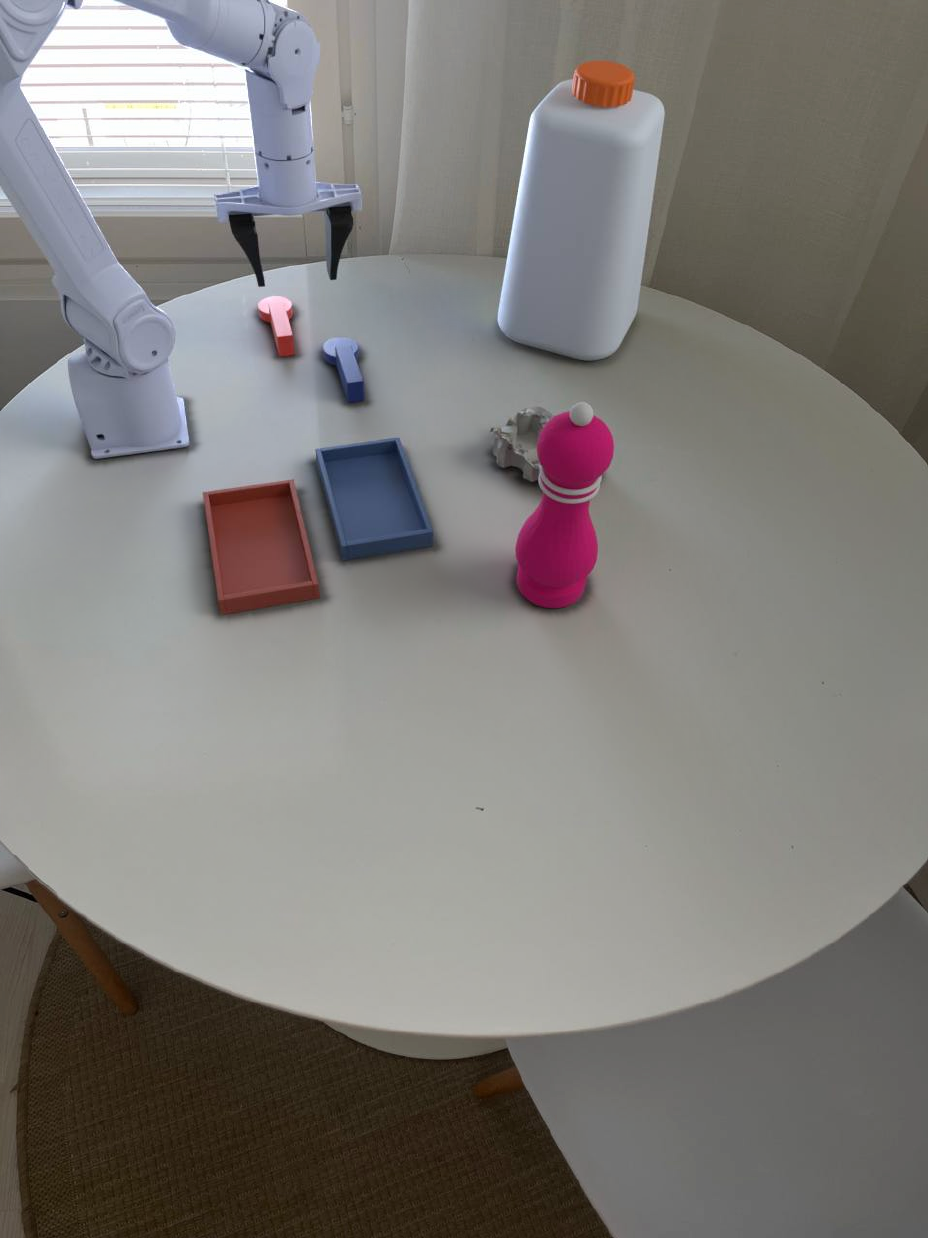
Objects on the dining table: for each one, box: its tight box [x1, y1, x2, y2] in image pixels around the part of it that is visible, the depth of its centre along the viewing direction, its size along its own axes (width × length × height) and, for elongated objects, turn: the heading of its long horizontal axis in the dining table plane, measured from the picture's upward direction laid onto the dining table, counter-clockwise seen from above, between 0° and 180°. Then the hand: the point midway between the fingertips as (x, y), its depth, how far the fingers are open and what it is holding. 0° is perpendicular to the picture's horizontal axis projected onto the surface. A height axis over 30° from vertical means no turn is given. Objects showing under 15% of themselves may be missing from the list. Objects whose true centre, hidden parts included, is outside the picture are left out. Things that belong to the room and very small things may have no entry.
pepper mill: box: [514, 401, 615, 609], centre depth 75 cm, size 7×7×20 cm
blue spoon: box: [322, 336, 365, 404], centre depth 101 cm, size 11×4×3 cm, turn 16°
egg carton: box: [489, 406, 555, 483], centre depth 92 cm, size 11×8×4 cm
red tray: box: [202, 478, 321, 616], centre depth 83 cm, size 9×14×2 cm, turn 16°
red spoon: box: [257, 295, 296, 358], centre depth 106 cm, size 11×4×3 cm, turn 16°
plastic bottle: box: [497, 60, 666, 362], centre depth 100 cm, size 15×15×28 cm
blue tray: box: [315, 436, 434, 562], centre depth 88 cm, size 9×14×2 cm, turn 16°
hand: (296, 278), depth 98 cm, fingers open, 7 cm apart
